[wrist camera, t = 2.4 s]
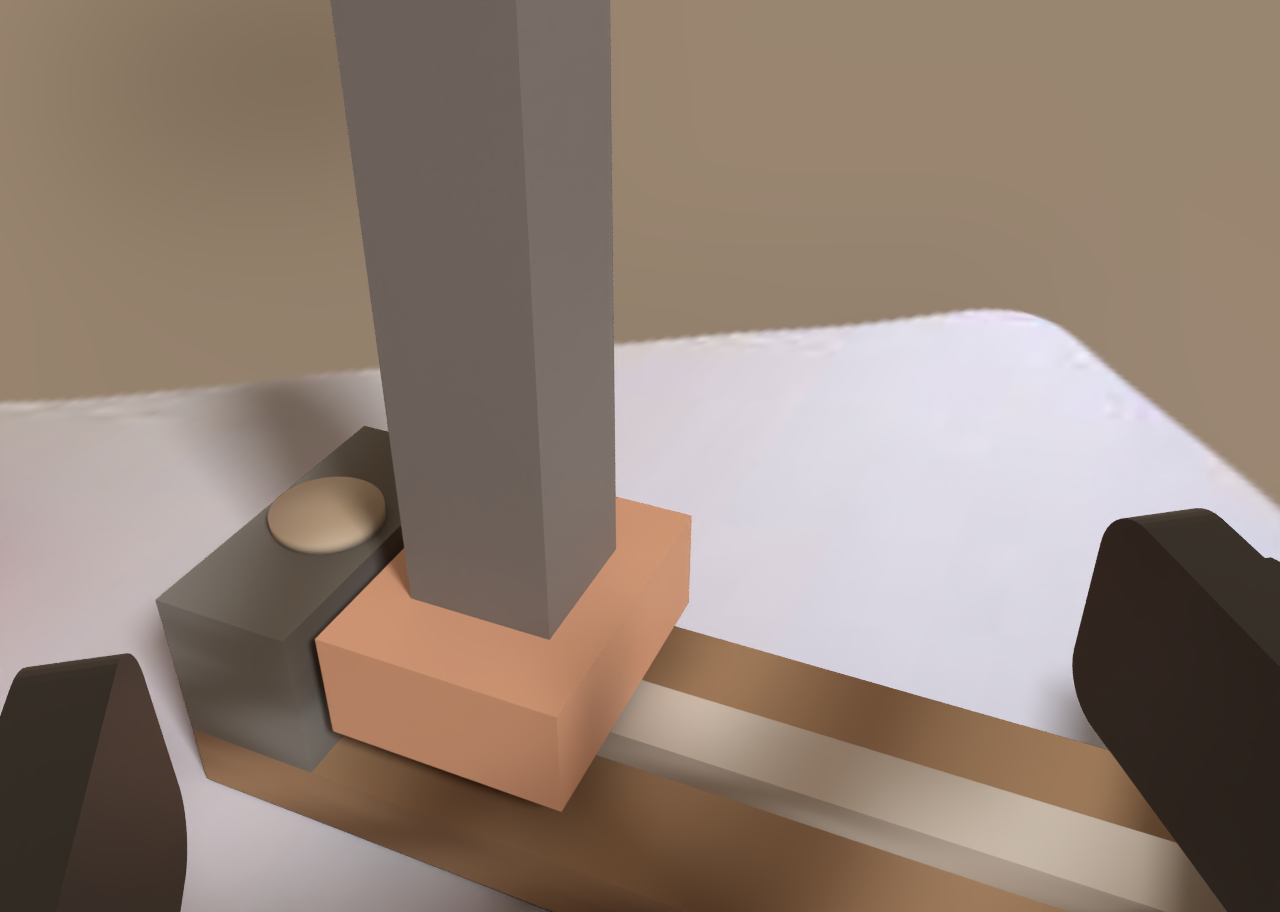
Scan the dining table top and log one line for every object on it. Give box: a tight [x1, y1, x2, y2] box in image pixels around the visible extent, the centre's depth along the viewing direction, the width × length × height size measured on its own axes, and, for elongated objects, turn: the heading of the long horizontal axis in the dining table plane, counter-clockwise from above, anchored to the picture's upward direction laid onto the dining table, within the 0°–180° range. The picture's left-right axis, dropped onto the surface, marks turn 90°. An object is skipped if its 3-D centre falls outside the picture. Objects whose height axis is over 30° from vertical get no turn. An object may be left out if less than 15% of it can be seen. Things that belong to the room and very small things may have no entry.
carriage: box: [315, 0, 692, 812], centre depth 21 cm, size 5×6×14 cm
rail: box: [156, 426, 1227, 912], centre depth 23 cm, size 24×7×5 cm, turn 67°
